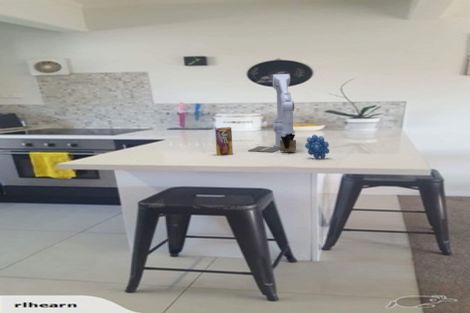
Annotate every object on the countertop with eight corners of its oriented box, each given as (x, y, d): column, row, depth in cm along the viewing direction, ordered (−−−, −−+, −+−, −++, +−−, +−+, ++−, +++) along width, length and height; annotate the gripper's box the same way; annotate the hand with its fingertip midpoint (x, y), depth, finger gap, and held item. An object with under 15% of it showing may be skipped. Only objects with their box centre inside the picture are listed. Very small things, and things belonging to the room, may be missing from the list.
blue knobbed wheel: (304, 160, 163) (304, 135, 161) (305, 157, 170) (305, 134, 168) (328, 160, 160) (329, 135, 158) (329, 157, 166) (329, 134, 164)
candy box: (231, 153, 191) (230, 126, 188) (233, 154, 187) (231, 127, 184) (216, 154, 189) (214, 127, 186) (217, 155, 185) (215, 128, 182)
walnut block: (282, 150, 189) (282, 139, 188) (296, 150, 185) (296, 140, 184) (280, 151, 186) (280, 140, 185) (293, 151, 182) (293, 141, 181)
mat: (259, 147, 209) (259, 146, 209) (283, 148, 201) (283, 147, 201) (247, 151, 195) (247, 150, 195) (272, 152, 187) (272, 151, 187)
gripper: (290, 124, 175) (290, 150, 177) (299, 122, 187) (299, 146, 190) (277, 124, 178) (278, 149, 181) (287, 122, 190) (287, 145, 193)
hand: (288, 147), depth 185 cm, fingers closed on walnut block, 4 cm apart
